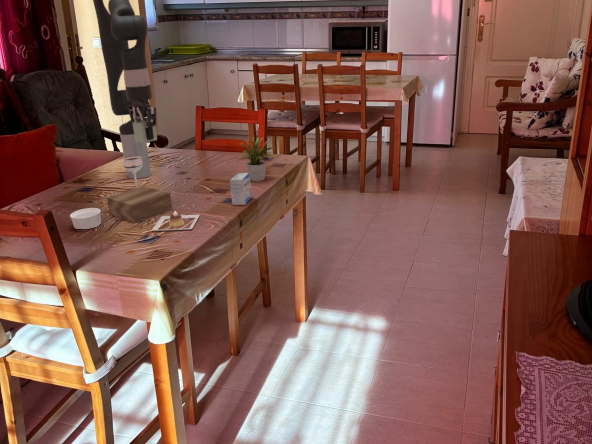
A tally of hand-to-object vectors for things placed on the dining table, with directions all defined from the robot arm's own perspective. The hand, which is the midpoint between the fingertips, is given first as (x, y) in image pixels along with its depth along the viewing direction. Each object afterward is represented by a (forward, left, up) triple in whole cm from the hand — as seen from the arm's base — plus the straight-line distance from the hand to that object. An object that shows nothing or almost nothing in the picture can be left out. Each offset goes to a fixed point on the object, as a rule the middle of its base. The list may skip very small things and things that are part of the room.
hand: (146, 138), depth 183 cm
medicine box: (+21, +20, -22) cm, 37 cm away
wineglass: (-20, +4, -22) cm, 30 cm away
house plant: (+6, +38, -22) cm, 44 cm away
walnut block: (+3, -7, -22) cm, 24 cm away
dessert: (+22, -6, -23) cm, 32 cm away
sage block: (0, 0, -1) cm, 1 cm away
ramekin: (+1, -24, -22) cm, 33 cm away
